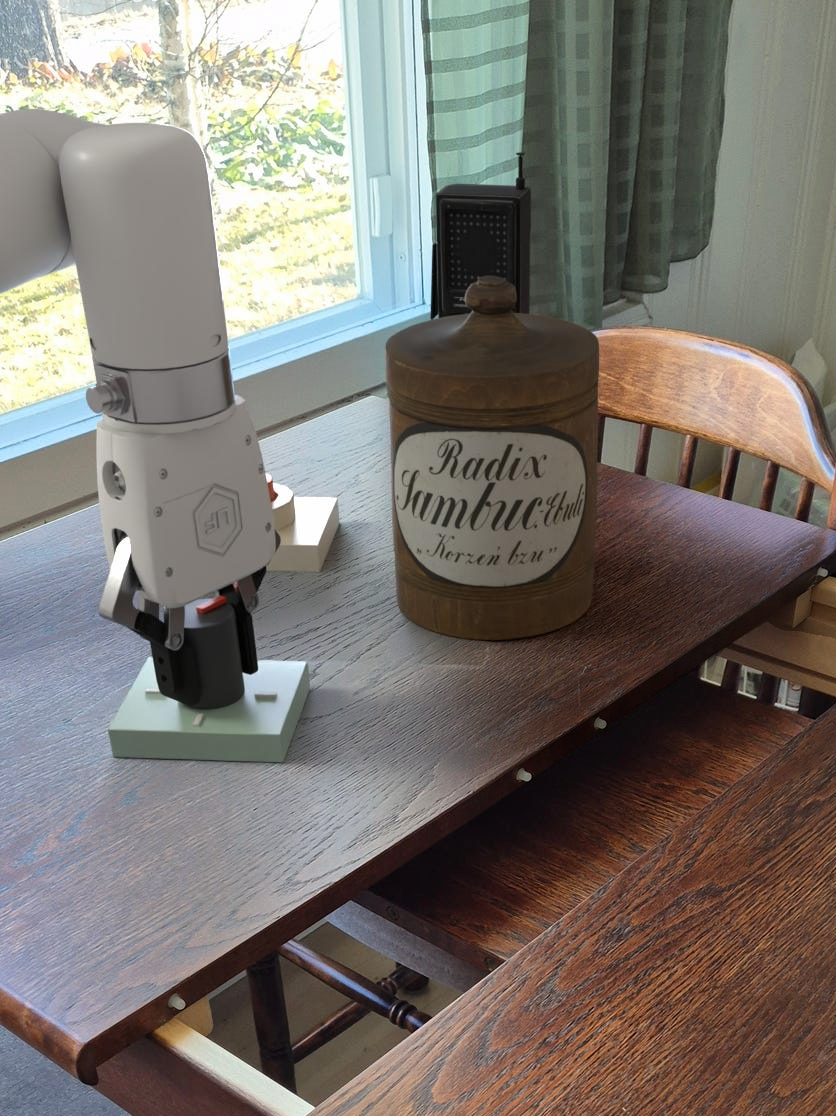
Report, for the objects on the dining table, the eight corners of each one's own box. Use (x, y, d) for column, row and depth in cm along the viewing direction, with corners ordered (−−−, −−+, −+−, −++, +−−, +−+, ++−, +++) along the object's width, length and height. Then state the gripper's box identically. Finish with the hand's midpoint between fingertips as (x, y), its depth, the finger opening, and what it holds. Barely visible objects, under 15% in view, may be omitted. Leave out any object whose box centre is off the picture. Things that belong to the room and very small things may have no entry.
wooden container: (386, 641, 103) (367, 308, 88) (406, 557, 114) (392, 249, 100) (592, 644, 102) (607, 309, 88) (593, 560, 113) (606, 250, 99)
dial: (210, 716, 91) (197, 630, 87) (162, 696, 93) (147, 611, 89) (259, 689, 93) (248, 604, 89) (211, 671, 95) (199, 587, 91)
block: (169, 569, 113) (161, 519, 110) (198, 520, 120) (191, 472, 118) (320, 572, 112) (315, 522, 109) (339, 523, 120) (336, 475, 117)
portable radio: (428, 491, 125) (416, 160, 108) (446, 467, 129) (437, 145, 113) (516, 498, 123) (518, 163, 107) (531, 473, 128) (534, 148, 111)
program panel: (112, 757, 91) (106, 727, 89) (152, 683, 98) (147, 654, 97) (283, 763, 90) (280, 732, 89) (310, 688, 98) (307, 658, 96)
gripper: (96, 441, 74) (153, 754, 86) (316, 360, 84) (340, 651, 96) (2, 413, 77) (70, 718, 89) (225, 339, 87) (258, 622, 99)
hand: (209, 680), depth 92 cm, fingers closed on dial, 4 cm apart
